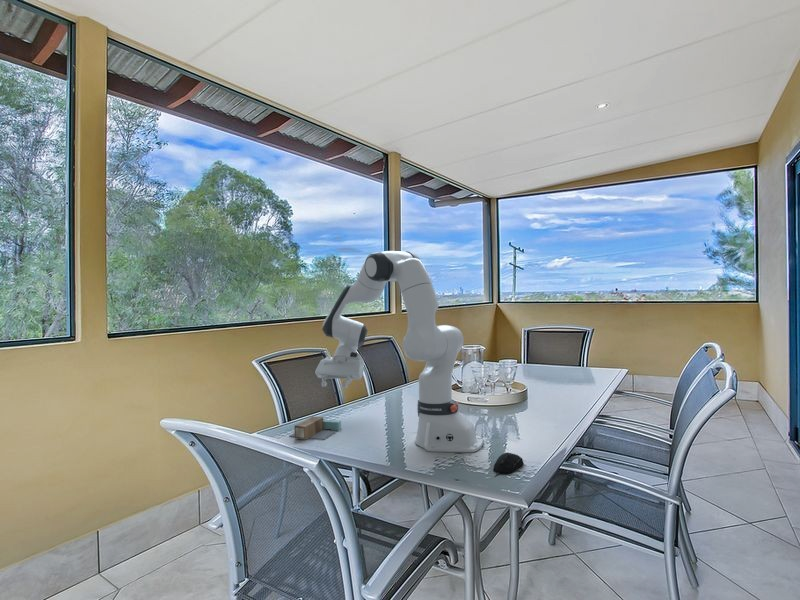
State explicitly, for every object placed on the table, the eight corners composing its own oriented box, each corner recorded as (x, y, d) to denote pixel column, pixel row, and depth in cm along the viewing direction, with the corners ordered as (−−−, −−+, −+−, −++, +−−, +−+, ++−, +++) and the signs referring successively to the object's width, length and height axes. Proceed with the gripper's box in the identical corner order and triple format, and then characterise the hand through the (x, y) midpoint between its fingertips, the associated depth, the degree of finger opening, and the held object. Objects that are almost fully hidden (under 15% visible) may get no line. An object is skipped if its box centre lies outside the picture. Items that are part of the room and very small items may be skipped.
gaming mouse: (483, 475, 124) (483, 461, 124) (507, 459, 136) (506, 446, 136) (504, 481, 120) (504, 466, 120) (527, 464, 132) (527, 450, 132)
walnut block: (323, 417, 167) (305, 426, 156) (323, 429, 168) (305, 439, 156) (312, 416, 169) (293, 425, 158) (312, 428, 169) (294, 438, 158)
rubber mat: (336, 432, 165) (336, 431, 165) (324, 440, 156) (324, 439, 156) (302, 429, 169) (302, 428, 169) (289, 436, 161) (289, 435, 161)
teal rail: (341, 429, 169) (340, 421, 169) (338, 430, 167) (338, 422, 167) (308, 426, 173) (307, 418, 173) (305, 427, 171) (305, 419, 171)
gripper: (319, 353, 191) (307, 381, 182) (363, 354, 184) (354, 383, 175) (324, 362, 195) (313, 389, 186) (368, 363, 189) (359, 391, 180)
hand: (333, 386), depth 181 cm, fingers open, 8 cm apart
